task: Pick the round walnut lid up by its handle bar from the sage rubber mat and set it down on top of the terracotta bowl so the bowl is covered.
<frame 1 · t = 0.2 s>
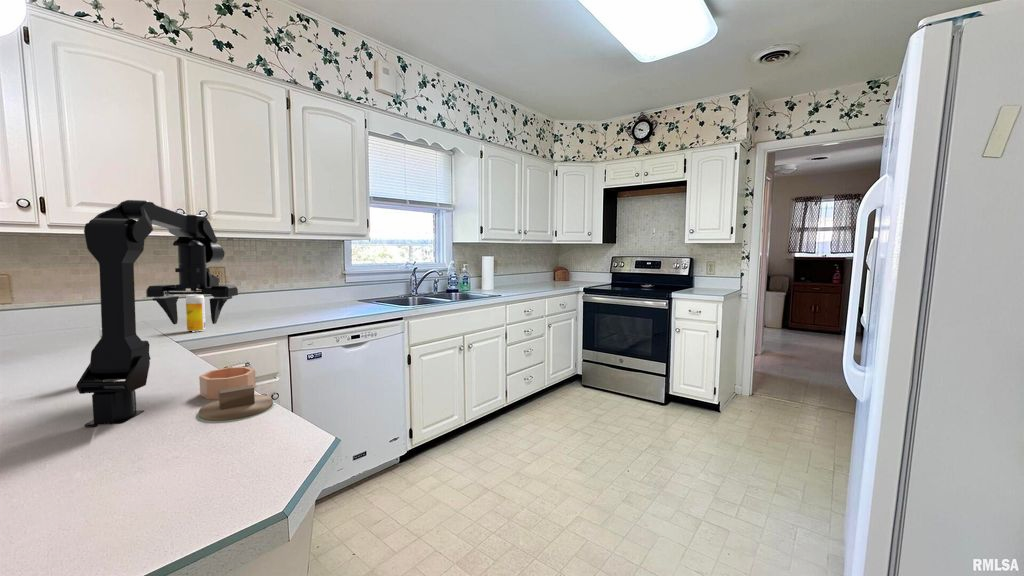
hand: (195, 323, 108), 14 cm above the counter, fingers open, 9 cm apart
walnut lid: (237, 408, 88), resting on sage mat
terracotta bowl: (228, 393, 98), on the counter
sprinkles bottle: (114, 379, 108), on the counter
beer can: (196, 331, 171), on the counter
sage mat: (237, 411, 88), on the counter
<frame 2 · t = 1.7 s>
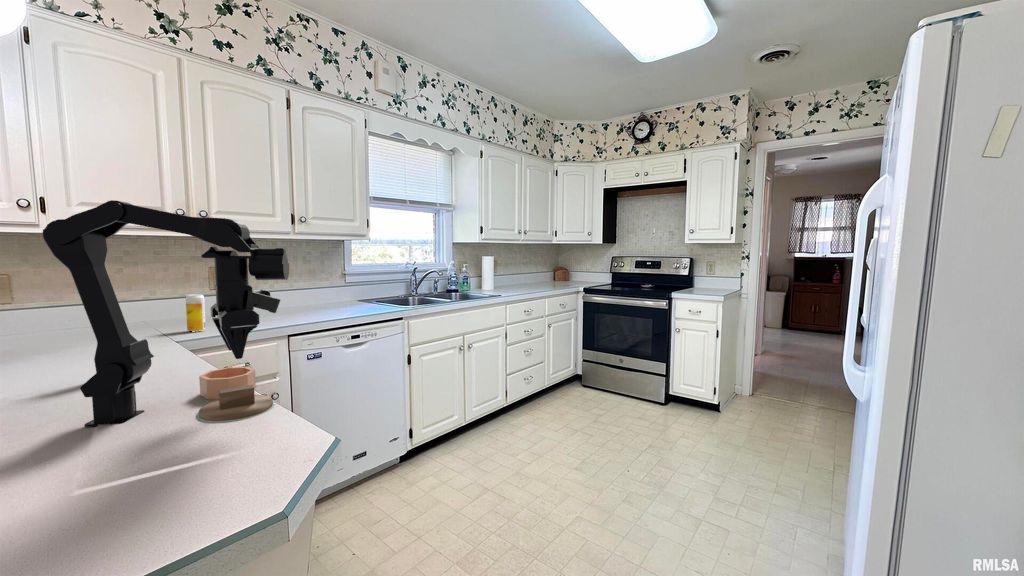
hand: (235, 354, 87), 12 cm above the counter, fingers open, 9 cm apart
nothing on the counter moved.
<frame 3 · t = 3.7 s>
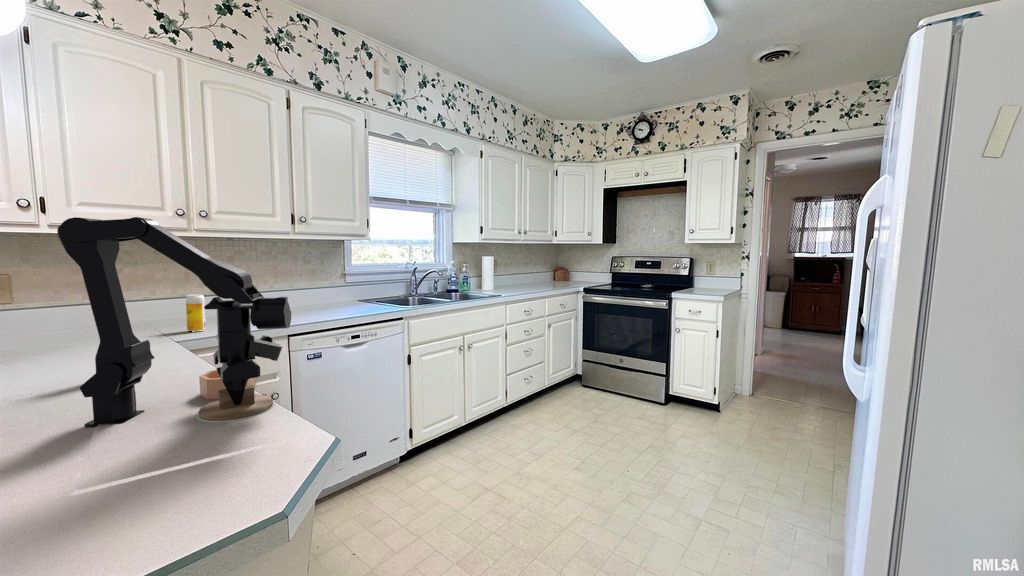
hand: (237, 402, 88), 2 cm above the counter, fingers closed on walnut lid, 2 cm apart
walnut lid: (237, 408, 88), resting on sage mat, touching gripper
everything else where it was.
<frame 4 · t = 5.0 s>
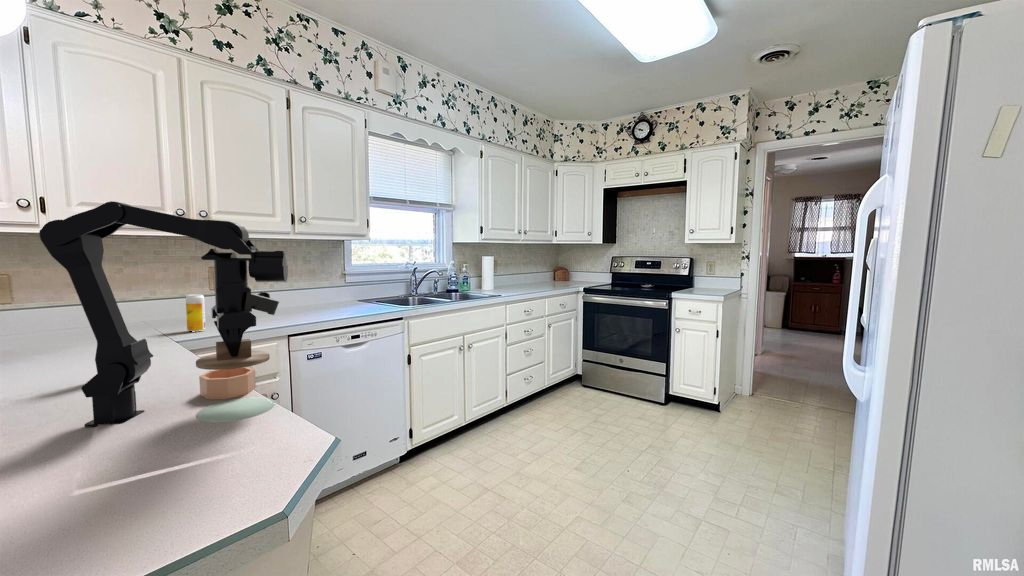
hand: (233, 355, 88), 12 cm above the counter, fingers closed on walnut lid, 2 cm apart
walnut lid: (234, 361, 88), point 10 cm above the counter, touching gripper
everything else where it was.
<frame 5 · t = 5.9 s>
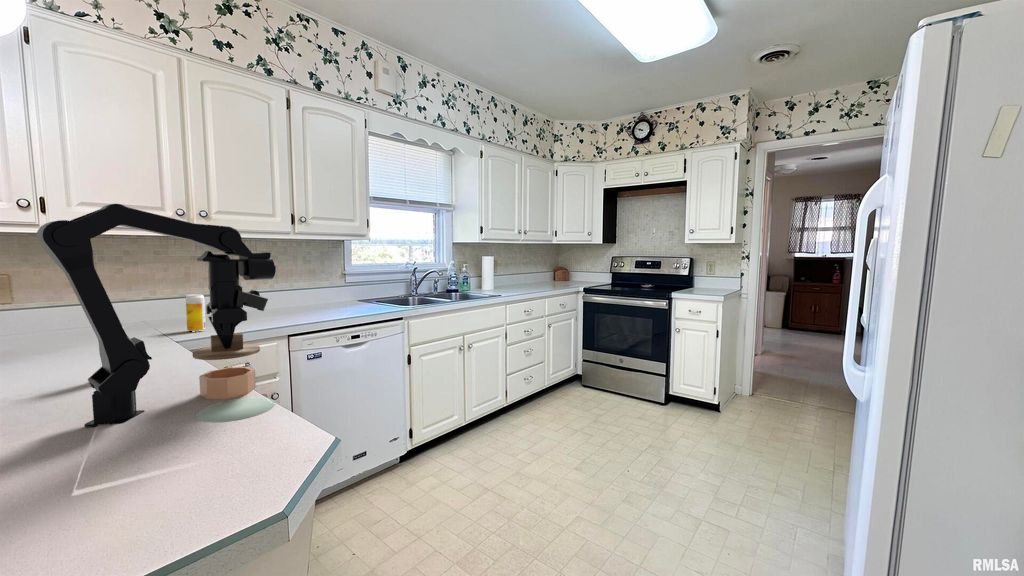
hand: (226, 347, 97), 11 cm above the counter, fingers closed on walnut lid, 2 cm apart
walnut lid: (227, 353, 98), point 10 cm above the counter, touching gripper
everything else where it was.
when the fingers open (8 cm above the counter, at t = 6.6 s): walnut lid drops 1 cm, resting on terracotta bowl.
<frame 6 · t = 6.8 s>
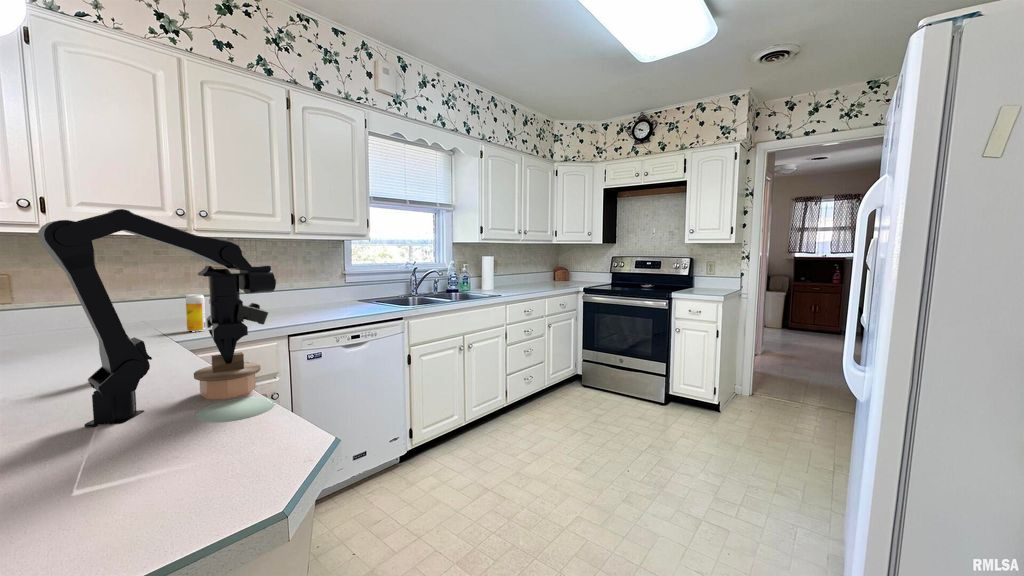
hand: (227, 361, 98), 8 cm above the counter, fingers open, 5 cm apart
walnut lid: (228, 372, 98), point 5 cm above the counter, touching terracotta bowl
everything else where it was.
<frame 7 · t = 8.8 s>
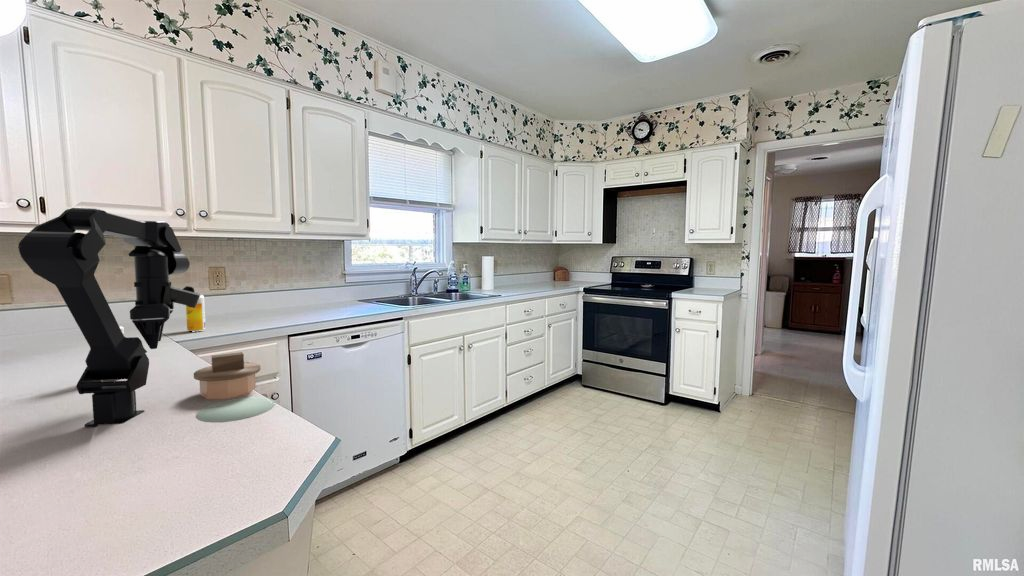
hand: (155, 344, 95), 12 cm above the counter, fingers open, 9 cm apart
nothing on the counter moved.
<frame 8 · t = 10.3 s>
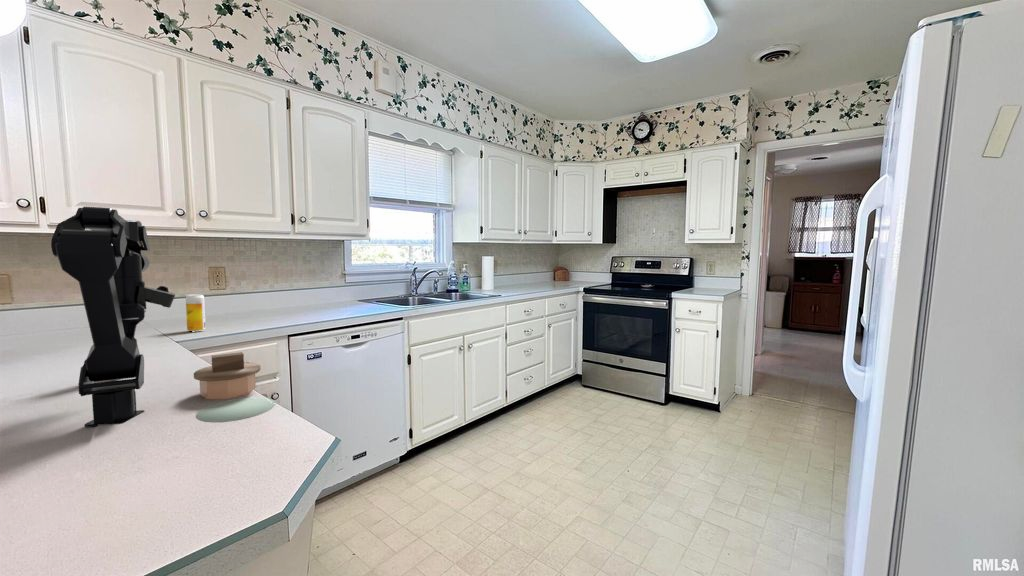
hand: (129, 345, 94), 12 cm above the counter, fingers open, 9 cm apart
nothing on the counter moved.
at the end: walnut lid 0.1 cm off-centre on the terracotta bowl, point 5.0 cm above the terracotta bowl's base; walnut lid tilted 0°; the gripper is holding nothing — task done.
